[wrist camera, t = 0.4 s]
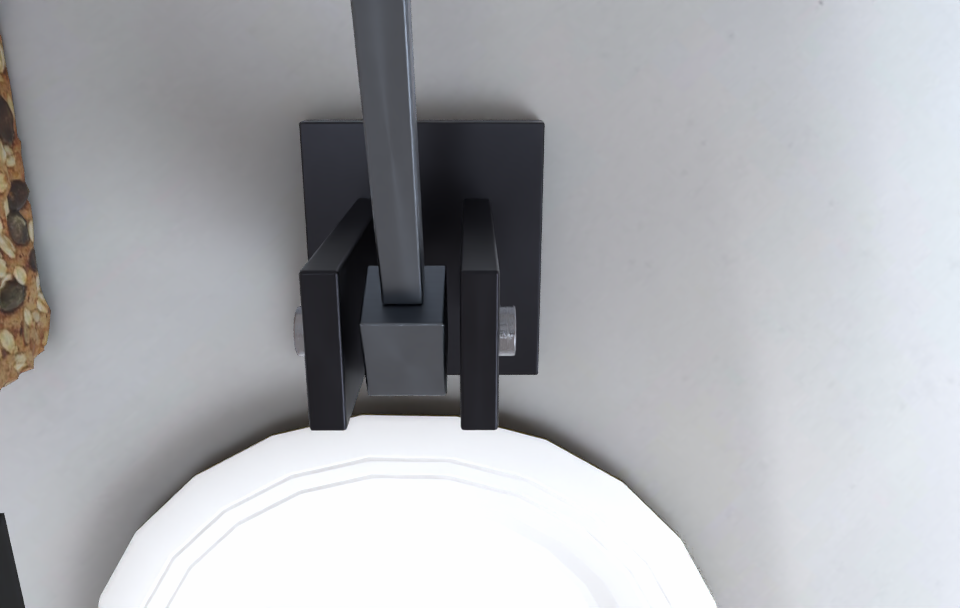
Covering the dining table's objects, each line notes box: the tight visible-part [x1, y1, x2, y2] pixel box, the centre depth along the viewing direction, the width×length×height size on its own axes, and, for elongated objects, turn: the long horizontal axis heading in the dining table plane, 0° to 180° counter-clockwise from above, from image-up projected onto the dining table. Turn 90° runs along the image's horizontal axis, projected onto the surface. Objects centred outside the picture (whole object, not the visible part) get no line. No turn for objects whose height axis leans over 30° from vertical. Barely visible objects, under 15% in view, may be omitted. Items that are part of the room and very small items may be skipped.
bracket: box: [294, 120, 545, 431], centre depth 26 cm, size 10×9×12 cm
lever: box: [351, 0, 448, 396], centre depth 18 cm, size 13×6×2 cm, turn 0°
